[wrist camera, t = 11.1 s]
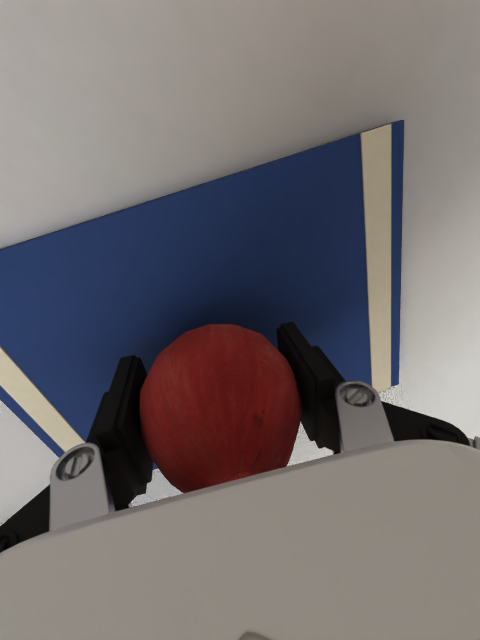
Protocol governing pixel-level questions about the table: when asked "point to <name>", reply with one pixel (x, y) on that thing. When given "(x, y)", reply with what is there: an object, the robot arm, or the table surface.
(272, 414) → the onion
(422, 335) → the table surface
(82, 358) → the towel
